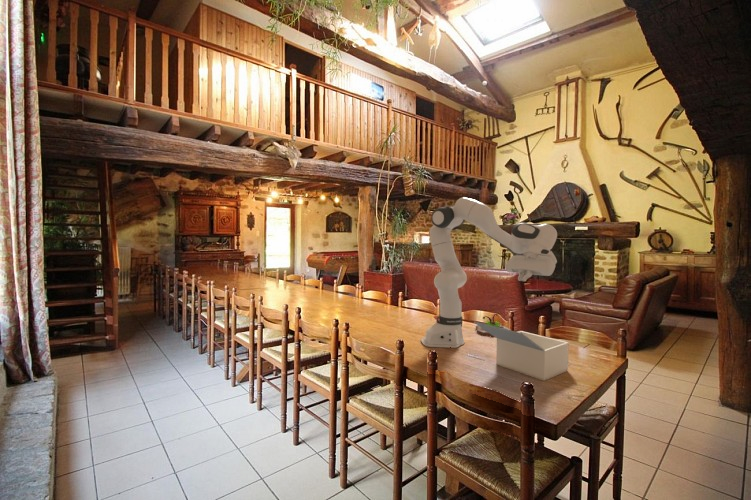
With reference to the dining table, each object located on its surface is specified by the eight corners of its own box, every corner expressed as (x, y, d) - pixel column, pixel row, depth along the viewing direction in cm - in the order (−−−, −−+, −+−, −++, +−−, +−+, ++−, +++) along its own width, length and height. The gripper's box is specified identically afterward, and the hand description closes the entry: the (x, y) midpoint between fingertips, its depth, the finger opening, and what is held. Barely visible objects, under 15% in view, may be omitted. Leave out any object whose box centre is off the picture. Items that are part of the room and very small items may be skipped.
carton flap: (473, 321, 148) (473, 322, 148) (522, 333, 130) (521, 334, 130) (496, 336, 157) (496, 337, 157) (544, 350, 139) (544, 351, 139)
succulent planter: (513, 338, 197) (514, 318, 197) (477, 336, 202) (477, 316, 201) (508, 329, 217) (508, 310, 216) (475, 327, 221) (475, 309, 221)
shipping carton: (520, 355, 168) (521, 330, 168) (568, 370, 150) (568, 342, 150) (496, 364, 158) (496, 337, 157) (544, 381, 140) (544, 351, 139)
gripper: (510, 249, 160) (496, 273, 155) (555, 251, 143) (541, 277, 138) (516, 259, 162) (503, 282, 157) (561, 261, 145) (547, 287, 140)
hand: (521, 280), depth 147 cm, fingers closed
